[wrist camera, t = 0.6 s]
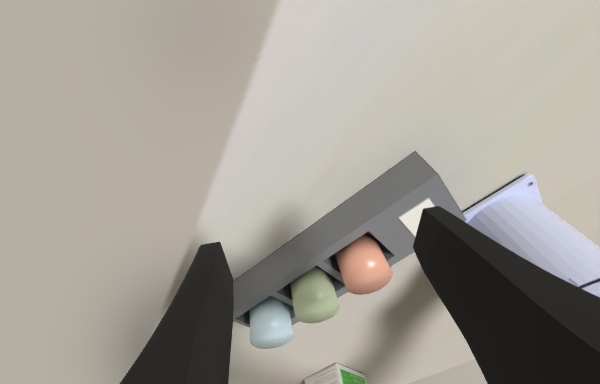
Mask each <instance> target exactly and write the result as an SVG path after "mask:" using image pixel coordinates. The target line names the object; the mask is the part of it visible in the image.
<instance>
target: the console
mask: <svg viewBox="0 0 600 384" xmlns="http://www.w3.org/2000/svg"><path fill="white" fill-rule="evenodd" d="M435 206H440V207H442V208H444V209H445V210H447V211H449V212H450V213H452V214H453V215H455V216H456V217H458V218H460V219H461V220H463V221H464V222H465V221H467V219H466V218H465V216H464V214H463V213H462V211H461V210H460V208H459V206H458V205H457V203H456V202H455V200H454V198H453V197H452V195H451V194H450V192H449V190H448V189H447V187H446V186H445V184H444V182H443V181H442V179H441V178H440V176H439V174H438V173H437V172H436V171H435V170H434V169H433V168H432V167H431V166H430V165H429V164H428V163H427V162H426V161H425V160H424V159H423V158H422V157H421V156H420V155H419V154H418V153H417V152H416V151H415V152H414V153H412V154H411V155H409V156H408V157H407V158H405V159H404V160H402V161H401V162H400V163H398V164H397V165H395V166H394V167H393V168H391V169H390V170H388V171H387V172H386V173H384V174H383V175H381V176H380V177H379V178H377V179H376V180H374V181H373V182H372V183H370V184H369V185H367V186H366V187H365V188H363V189H362V190H360V191H359V192H358V193H356V194H355V195H353V196H352V197H351V198H349V199H348V200H347V201H345V202H344V203H342V204H341V205H340V206H338V207H337V208H335V209H334V210H333V211H331V212H330V213H328V214H327V215H326V216H324V217H323V218H321V219H320V220H319V221H317V222H316V223H314V224H313V225H312V226H310V227H309V228H307V229H306V230H305V231H303V232H302V233H300V234H299V235H298V236H296V237H295V238H293V239H292V240H291V241H289V242H288V243H286V244H285V245H284V246H282V247H281V248H279V249H278V250H277V251H275V252H274V253H272V254H271V255H270V256H268V257H267V258H265V259H264V260H263V261H261V262H260V263H258V264H257V265H256V266H254V267H253V268H251V269H250V270H249V271H247V272H246V273H244V274H243V275H242V276H240V277H239V278H238V279H236V280H235V281H233V297H234V311H233V321H235V322H237V323H240V324H243V325H245V326H248V327H250V313H249V310H250V309H251V308H253V307H254V306H256V305H257V304H259V303H260V302H262V301H263V300H265V299H266V298H268V297H269V296H273V297H275V298H277V299H279V300H281V301H283V302H285V303H287V304H289V310H290V317H291V324H292V325H293V324H295V323H297V322H298V321H299V320H297V319H296V317H295V312H294V306H293V300H292V293H291V287H290V283H291V282H292V281H294V280H295V279H297V278H298V277H300V276H301V275H303V274H304V273H306V272H307V271H309V270H310V269H312V268H313V267H315V266H316V265H317V266H319V267H320V268H321V269H323V270H324V271H326V272H327V273H329V274H330V276H331V279H332V282H333V286H334V289H335V292H336V296H337V298H338V297H340V296H342V295H343V294H345V293H347V292H348V290H347V289H346V286H345V284H344V281H343V278H342V275H341V272H340V269H339V266H338V263H337V260H336V257H335V253H336V252H338V251H339V250H341V249H342V248H344V247H345V246H347V245H348V244H350V243H351V242H353V241H354V240H356V239H357V238H359V237H360V236H362V235H363V234H365V233H366V234H370V235H372V236H373V237H374V238H375V239H376V241H377V243H378V245H379V247H380V249H381V251H382V253H383V255H384V257H385V259H386V261H387V263H388V265H389V266H392V265H393V264H395V263H397V262H398V261H400V260H402V259H403V258H405V257H407V256H408V255H410V254H412V253H413V252H415V251H414V249H413V244H414V241H415V237H416V233H417V229H418V226H419V222H420V218H421V214H422V211H423V208H429V207H435Z"/></svg>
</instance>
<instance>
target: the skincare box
mask: <svg viewBox="0 0 600 384" xmlns="http://www.w3.org/2000/svg"><path fill="white" fill-rule="evenodd" d="M304 381H305V384H367V382H366V378H365V375H364V374H362V373H359V372H357V371H355V370H352V369H350V368H347V367H345V366H343V365H340V364H338V363H335V364H333V365H331V366H329V367H327V368H325V369H323V370H321V371H319V372H317V373H315V374H313V375H311V376H309V377H308V378H306V379H304Z"/></svg>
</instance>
